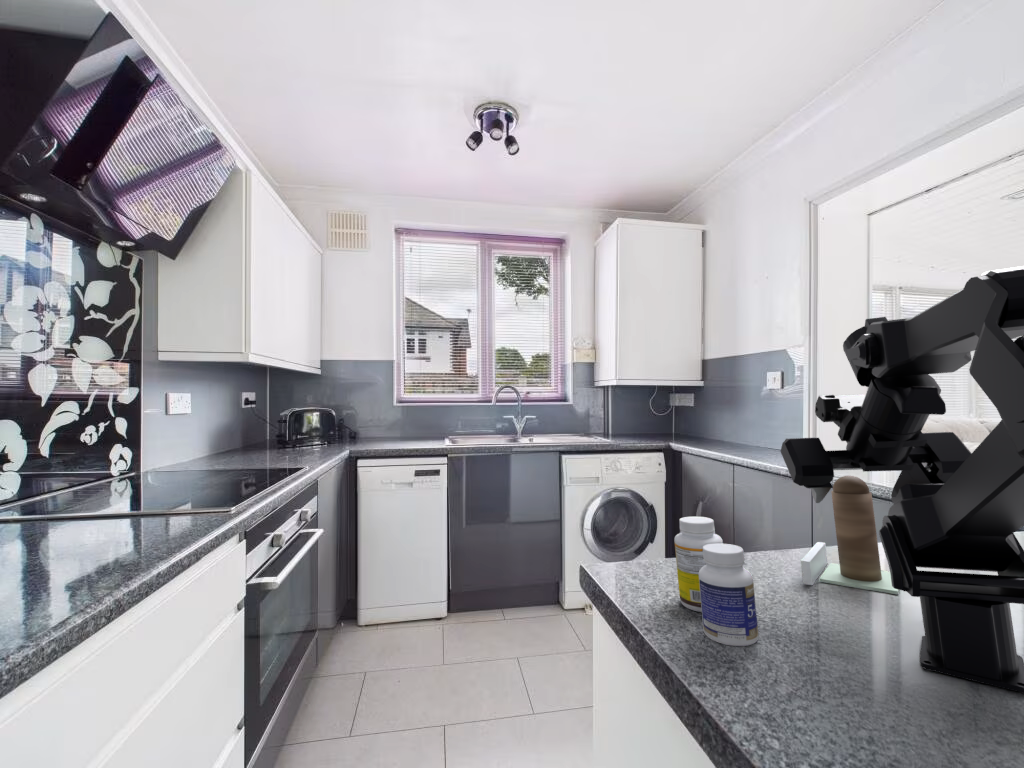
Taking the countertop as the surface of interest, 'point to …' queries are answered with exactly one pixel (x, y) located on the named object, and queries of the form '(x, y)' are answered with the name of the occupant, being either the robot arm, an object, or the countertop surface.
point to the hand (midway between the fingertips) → (854, 499)
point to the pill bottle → (727, 596)
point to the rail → (814, 563)
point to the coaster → (835, 577)
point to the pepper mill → (856, 529)
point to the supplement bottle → (692, 557)
